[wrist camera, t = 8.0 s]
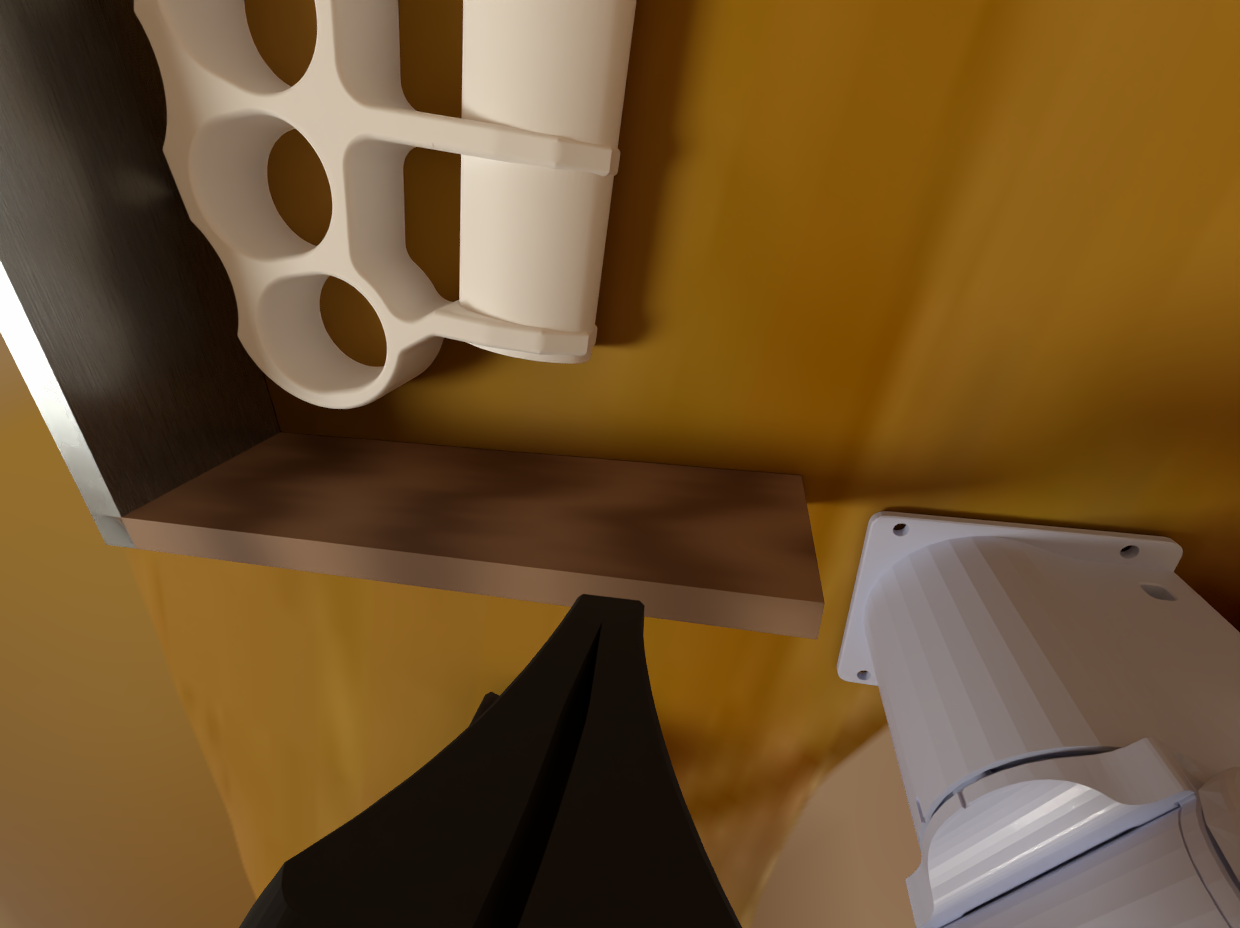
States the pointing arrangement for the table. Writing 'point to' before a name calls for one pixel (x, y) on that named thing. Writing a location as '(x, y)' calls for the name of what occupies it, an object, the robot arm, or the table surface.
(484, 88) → the white multi-hole holder
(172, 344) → the bookend
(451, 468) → the shelf wall
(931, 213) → the table surface
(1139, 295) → the table surface
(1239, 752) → the robot arm
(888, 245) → the table surface
